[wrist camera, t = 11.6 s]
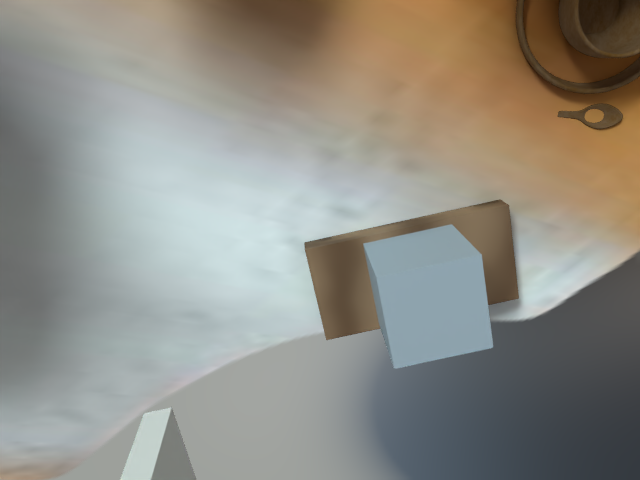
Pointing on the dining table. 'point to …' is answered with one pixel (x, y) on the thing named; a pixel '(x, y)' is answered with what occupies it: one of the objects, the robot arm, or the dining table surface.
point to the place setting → (594, 47)
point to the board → (348, 251)
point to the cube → (429, 295)
